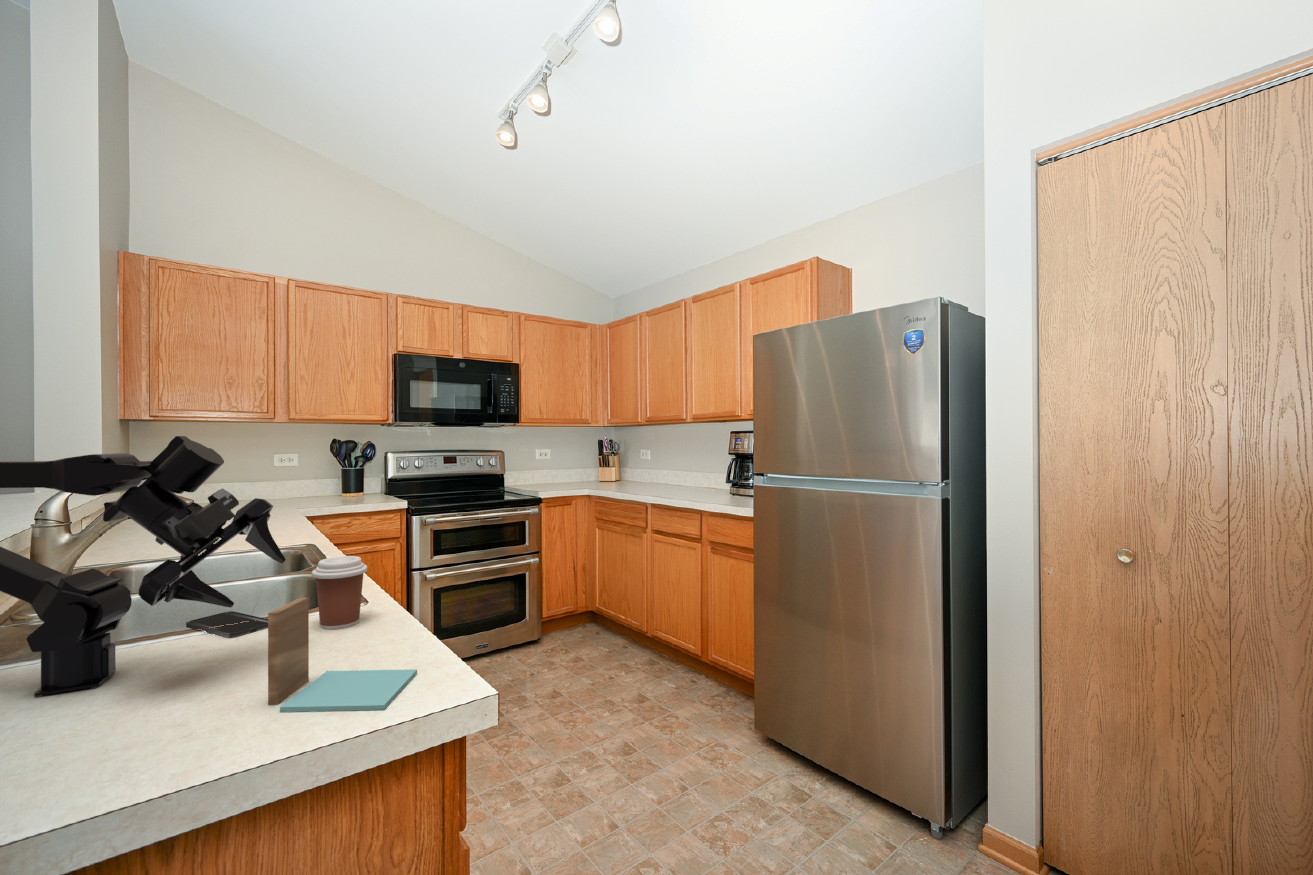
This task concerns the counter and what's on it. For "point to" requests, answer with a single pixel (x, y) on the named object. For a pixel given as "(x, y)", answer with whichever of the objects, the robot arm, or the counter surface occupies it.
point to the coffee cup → (339, 591)
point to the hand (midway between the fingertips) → (259, 582)
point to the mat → (350, 691)
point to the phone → (229, 618)
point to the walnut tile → (288, 650)
